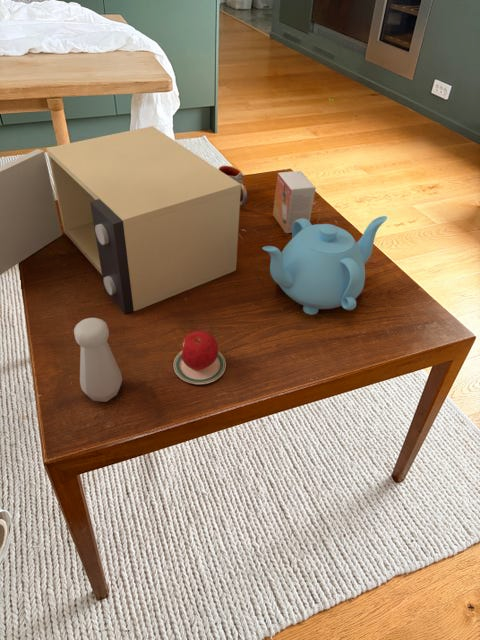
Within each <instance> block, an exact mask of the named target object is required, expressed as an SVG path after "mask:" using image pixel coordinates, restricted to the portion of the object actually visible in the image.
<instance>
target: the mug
mask: <svg viewBox="0 0 480 640" xmlns="http://www.w3.org/2000/svg"><path fill="white" fill-rule="evenodd" d="M217 169H218V170H220V171H221V172H223V173H224V174H226V175H227V176H229V177H230V178H232V179H234V180H235V181H237V182H238V183H240V184H241V192H240V198H242V201H240V208H241V207H244V206H246V204H247V201H248V190H247V188H246V186H245V185H244V181H243V177H244V174H243V172H242V171H241V169H239V168H237V167H235V166H231V165H220V166H219V167H218V168H217Z"/></svg>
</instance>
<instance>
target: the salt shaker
mask: <svg viewBox="0 0 480 640" xmlns="http://www.w3.org/2000/svg"><path fill="white" fill-rule="evenodd" d="M73 335H74V340H75V342H76V344H78V345H79V346H80V353H79V354H80V355H79V356H80V358H79V359H80V360H79V385H80V389H81V391H82V392H83V393H84V394H85V395H86V396H87V397H88V398H90V399H91V400H92V401H93V402H103V403H107V402H108V401H111V399H113V398H115V397H116V396H117V395H118V392H119V391H120V388H121V386H122V383H123V376H122V373H121V370H120V367H119V366H118V363H117V361H116V358H115V356H114V354H113V352H112V349H111V347H110V345H109V343H108V339H109V336H110V331H109V327H108V324H107V322H106V321H105V320H103V319H101V318H98V317H88V318H85V319H82V320H80V321H79V322H78V323H77V324H76V325H75V327H74V329H73Z"/></svg>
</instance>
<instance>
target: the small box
mask: <svg viewBox="0 0 480 640" xmlns="http://www.w3.org/2000/svg"><path fill="white" fill-rule="evenodd" d="M316 189H317V187H316V186H315V185H314V184H313V183H312V182H311V181H310V180H309V179H308V178H307V177H306V175H305V174H304V173H303V171H302V170H294V171H283V172H281V171H280V172H277V176H276V183H275V191H274V192H275V193H274V201H273V208H272V209H273V210H272V216H273V218H274V219H275V221H276V222H277V223H278V225H279V226H280V228H281V230H282V231H283V232H284V234H292V228H293V223H294V222H295V221H296V220H297V219H301V218H304V219H307V220H309V221H310V222H311V217H312V211H313V206H314V200H315V195H316ZM302 230H303V228H302Z"/></svg>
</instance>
